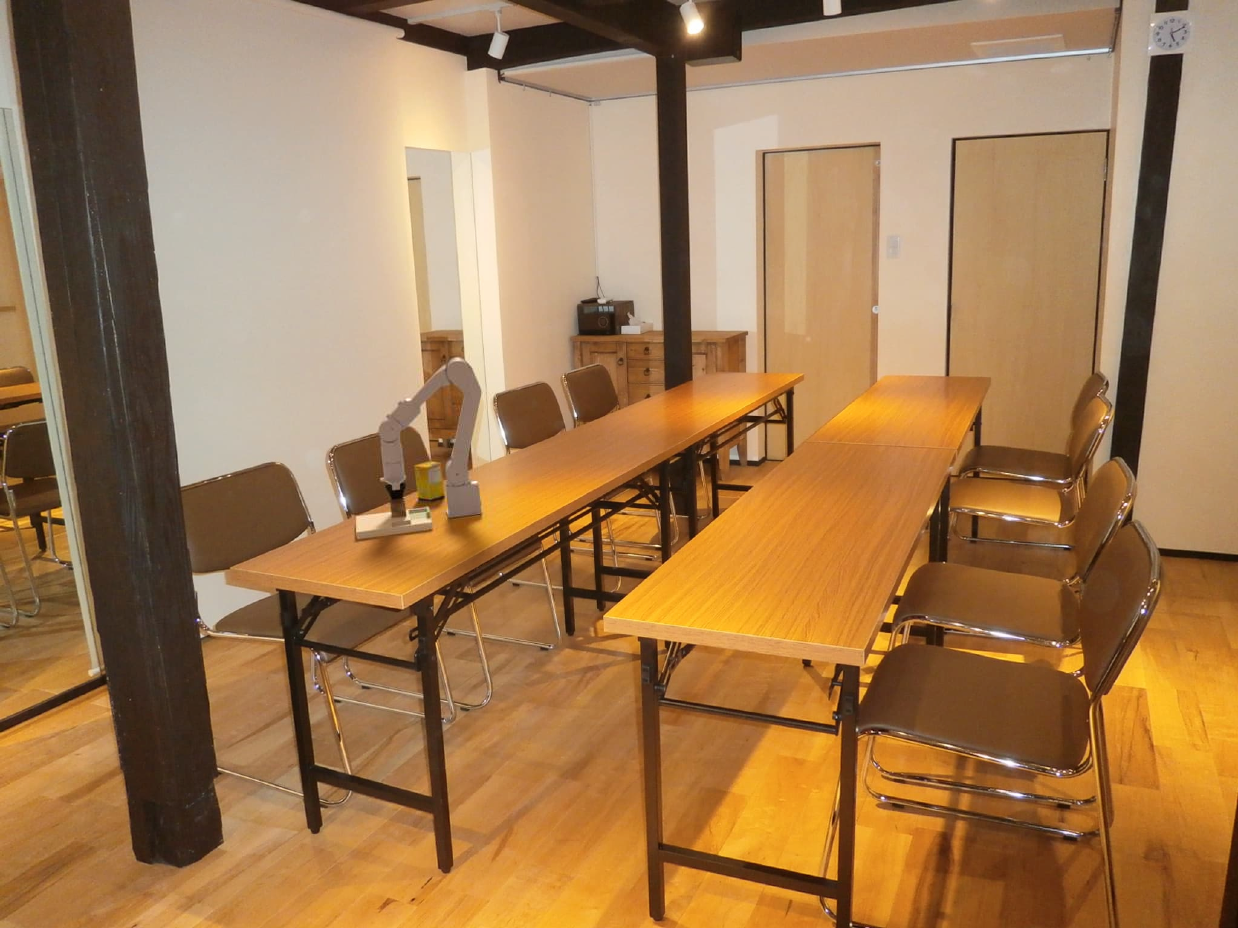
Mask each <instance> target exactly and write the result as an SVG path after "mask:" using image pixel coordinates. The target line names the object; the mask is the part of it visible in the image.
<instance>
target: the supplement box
mask: <svg viewBox="0 0 1238 928" xmlns="http://www.w3.org/2000/svg"><path fill="white" fill-rule="evenodd" d="M413 468H414V476H415V483H416V492H417V500H418V501H421V500H422V502H428V503H431V502H435V501H437V500H440V499H443V498H445V497H446V496H445V495H446V494H445V486H444V479H443V471H442V463H441V462H436V461H426V462H421V463H419V464H415V465H414V466H413Z"/></svg>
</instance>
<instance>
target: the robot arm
mask: <svg viewBox="0 0 1238 928" xmlns="http://www.w3.org/2000/svg"><path fill="white" fill-rule="evenodd" d="M451 382H452V383H453V384H454V385H455V386H457V387H459V389H460V391H461V392H462V394H463V395H464V396H463V400H462V405H461V410H460V414H459V418H458V424H457V429H456V433H455V436H454V437H455V438H454V443H453V448H452V450H451V455H450V456H449V459H448V460H447V461H446V463H445V478H446V481H445V482H444V483H445V486H444V487H445V491H446V492H445V493H446V494H445V495H446V500H447V501H446V503H447V509H445V512H446V514H447V517H448V519H449V518H457V517H458V518H459V517H467V516H473V515H481V514H483V512H482V511H483V510H482V500H481V491H480V486H479V481H478V480H473V481H472V480H471V478H469V469H468V463H469V457H470V455H469V454H470V450H471V444H472V440H473V436H474V431H475V427H476V426H475V425H476V421H477V418H478V412H479V407H480V402H481V397H482V394H483V393H482V388H481V386H480V384H479V381H478V379H477V376H476V374H475V372H474V369H473V367H472V366H471V365H470V363H468V362H467V360H466V359H464V358H462V357H459V356H457V357H453V358H451V359H450V360H449V361H448V362H447V363H446V364H444V365H443V366H442V367H440V368H439V369H438V370H437V371H436V372H435V373H434V374H433V375H432V376H430V378H429V379H428V380H427V381H426V382H425V384H424V385H422V386H421V388H420V389H419V390H418V391H417V392H416V393H415V394H414V396H413V397H411V398H404V399H403V400H401V399H400V400H399V401H397V405H398V406H397V407H395V408H394V410H393V411H392V412H391V413H388V414H387V415H386V416H385V419H384V420H382V421H381V423H380V424H379V427H378V436H379V438H380V445H381V446H380V451H381V461H382V462H381V463H382V469H383V470H382V471H383V477H380V478H379V479H380V480H379V481H380V483H382V482H384V483H387V484H385V490H386V491H387V493H388V494H389V496H390V500H393V499H401V498H404V493H405V490H406V487H407V484H406V483H407V482H405V480H407V475H406V472H405V463H404V456H403V446H402V443H401V433H402V432H401V431H402V430H405V429H407V428H408V427H409V426H410V424H412V423H413V421H414V420H415V419H416V418H417V417H418V416H419V415H420V414H421V406H423V404H424V403H425V402H426V401H427V400H429V399H430V398H431V397H432V396H433V394H435V393H436V392H437V391H438V390H439V389H440V388H442V387H446V386H450V385H451Z"/></svg>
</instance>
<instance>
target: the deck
mask: <svg viewBox="0 0 1238 928" xmlns="http://www.w3.org/2000/svg"><path fill="white" fill-rule="evenodd" d="M406 515H407V516H404V517H396V518H392V514H391V511H387V512H379V513H373V514H372V513H371V514H364V515H357V516H355V518H356V519H355V535H356V540H362V539H371V538H378V537H386V536H393V535H400V534H407V533H415V532H422V531H423V532H424V531H429V530H430V529H431V530H434V529H433V520H432V516H431V511H430V507H429V506H425V507H420V508H419V507H418V508H411V509H406Z"/></svg>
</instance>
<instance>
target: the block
mask: <svg viewBox="0 0 1238 928" xmlns="http://www.w3.org/2000/svg"><path fill="white" fill-rule="evenodd" d="M389 505H390V512H391V514H392V518H396V517H404V516H407V515H406V510H407V509H406V508H407V507H406V499H405V497H403V498H401V499H393V500H391V499H389Z"/></svg>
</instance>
